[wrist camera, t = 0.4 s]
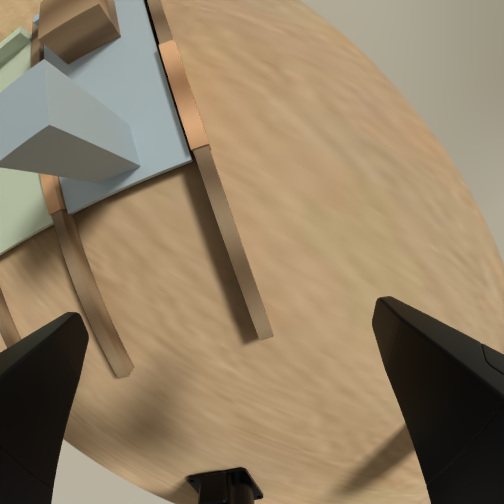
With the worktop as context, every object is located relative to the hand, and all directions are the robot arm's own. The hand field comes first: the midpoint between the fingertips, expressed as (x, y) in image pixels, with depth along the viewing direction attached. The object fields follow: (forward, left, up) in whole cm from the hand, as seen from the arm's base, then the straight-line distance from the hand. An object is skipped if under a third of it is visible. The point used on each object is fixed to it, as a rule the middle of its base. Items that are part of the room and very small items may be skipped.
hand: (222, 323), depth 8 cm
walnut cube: (+22, +5, -11) cm, 25 cm away
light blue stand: (+17, +5, -12) cm, 22 cm away
